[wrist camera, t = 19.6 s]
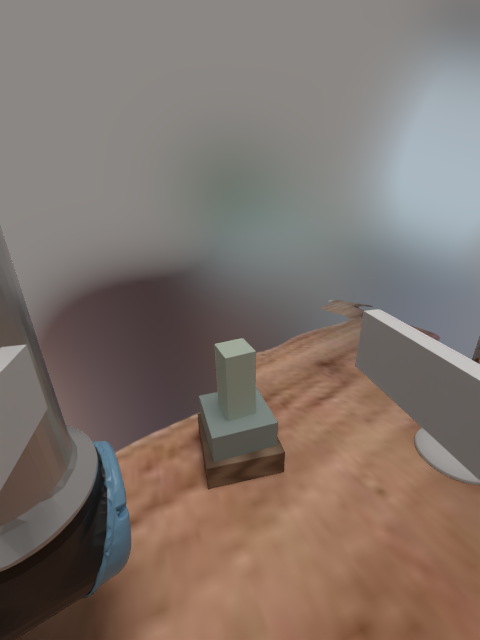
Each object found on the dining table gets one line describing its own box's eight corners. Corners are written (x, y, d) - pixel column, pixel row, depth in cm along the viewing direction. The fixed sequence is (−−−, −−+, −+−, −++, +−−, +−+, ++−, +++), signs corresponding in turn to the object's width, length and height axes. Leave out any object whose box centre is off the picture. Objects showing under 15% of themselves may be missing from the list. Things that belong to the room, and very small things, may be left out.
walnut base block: (208, 491, 48) (206, 468, 46) (199, 433, 60) (197, 413, 58) (283, 473, 51) (284, 452, 49) (260, 422, 63) (261, 403, 61)
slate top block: (213, 462, 48) (212, 438, 46) (200, 417, 57) (199, 395, 55) (276, 445, 51) (277, 422, 49) (254, 405, 60) (254, 384, 58)
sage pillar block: (228, 421, 49) (225, 358, 44) (218, 403, 53) (214, 344, 48) (255, 412, 51) (255, 351, 46) (243, 396, 55) (242, 338, 50)
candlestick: (402, 427, 60) (439, 284, 48) (467, 428, 60) (520, 284, 48) (438, 484, 48) (499, 313, 37) (520, 486, 48) (607, 313, 36)
